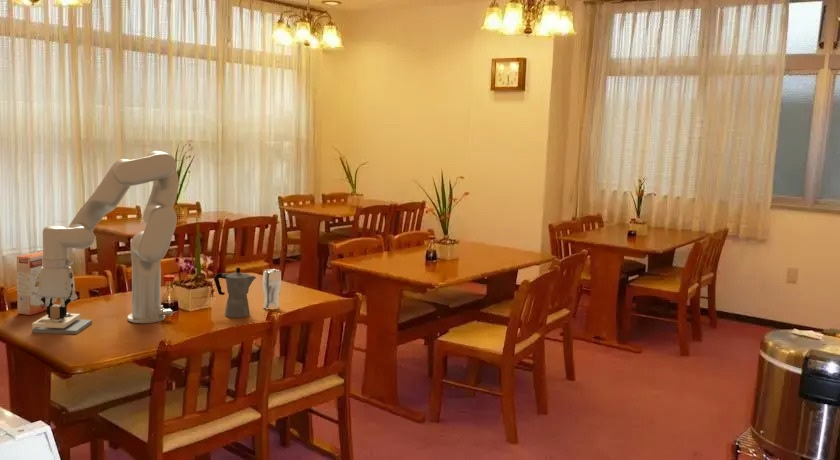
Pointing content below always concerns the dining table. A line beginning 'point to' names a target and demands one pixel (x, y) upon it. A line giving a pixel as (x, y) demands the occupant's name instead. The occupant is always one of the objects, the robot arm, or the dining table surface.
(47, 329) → the board
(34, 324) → the panel
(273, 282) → the beer glass
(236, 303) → the coffeepot
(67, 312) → the bosses
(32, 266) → the cracker box
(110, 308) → the dining table surface
